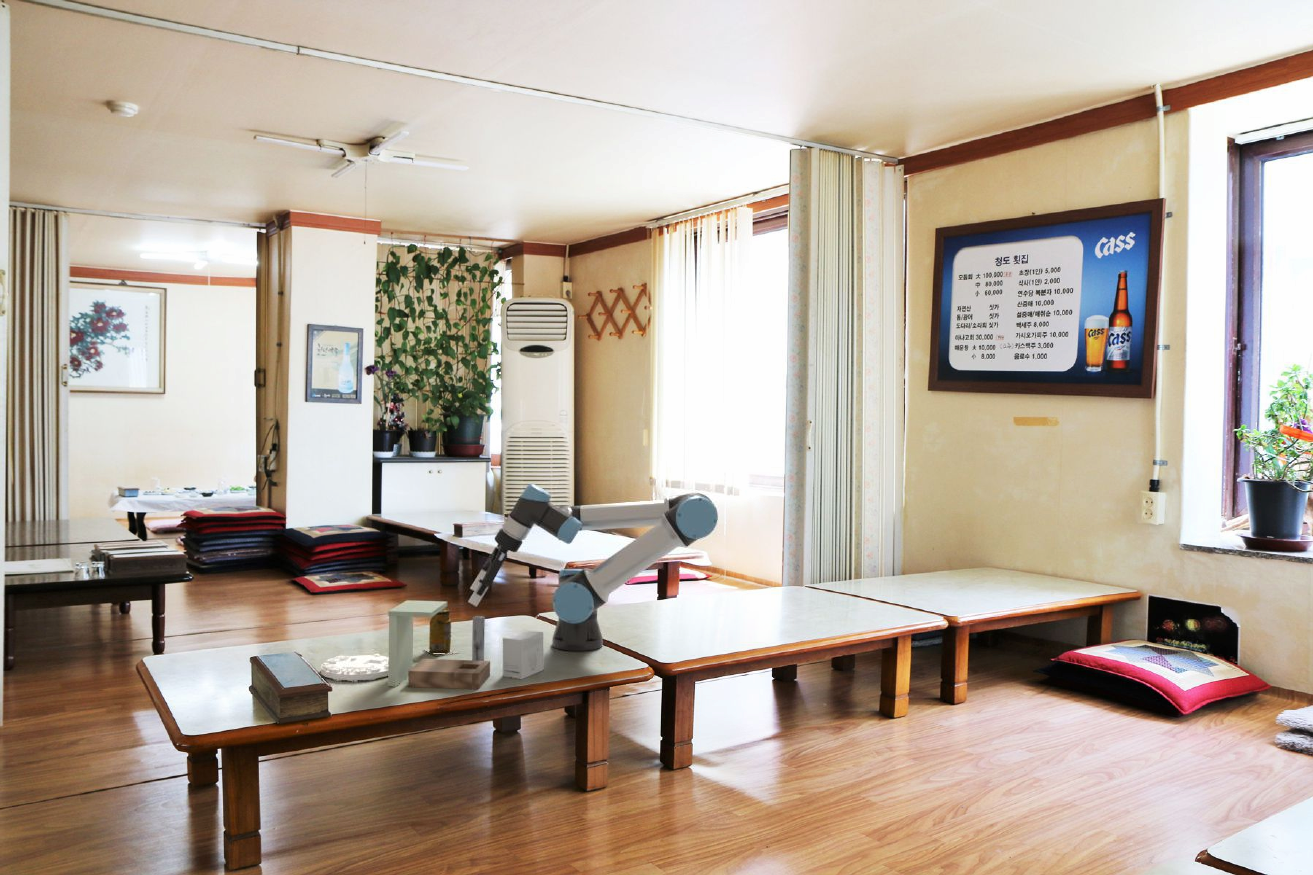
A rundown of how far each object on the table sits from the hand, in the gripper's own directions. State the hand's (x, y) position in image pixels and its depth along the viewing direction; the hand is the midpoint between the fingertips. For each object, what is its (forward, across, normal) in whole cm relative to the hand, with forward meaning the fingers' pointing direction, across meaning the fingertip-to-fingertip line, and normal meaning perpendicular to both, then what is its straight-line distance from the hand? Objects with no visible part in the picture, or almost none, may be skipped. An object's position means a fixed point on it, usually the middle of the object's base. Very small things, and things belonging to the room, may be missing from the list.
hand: (473, 597), depth 269 cm
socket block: (+15, +28, +3) cm, 32 cm away
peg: (+12, +16, +9) cm, 22 cm away
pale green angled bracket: (+19, +26, -4) cm, 32 cm away
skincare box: (+6, +22, +20) cm, 30 cm away
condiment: (+20, -3, +1) cm, 20 cm away
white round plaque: (+28, +16, -17) cm, 37 cm away
